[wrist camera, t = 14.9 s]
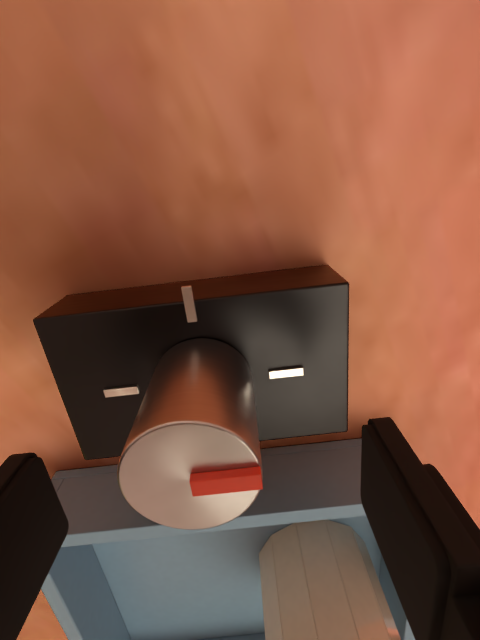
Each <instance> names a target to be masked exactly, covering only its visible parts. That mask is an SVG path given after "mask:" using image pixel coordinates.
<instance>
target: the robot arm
mask: <svg viewBox="0 0 480 640" xmlns="http://www.w3.org/2000/svg"><path fill="white" fill-rule="evenodd" d="M360 495H361V502H362V506H363V509H364V511H365V514H366V516H367V519H368V521H369V524H370V526H371V529H372V532H373V534H374V537H375V539H376V542H377V544H378V547H379V549H380V552H381V554H382V557H383V559H384V562H385V564H386V567H387V570H388V572H389V575H390V577H391V580H392V582H393V585H394V587H395V590H396V592H397V595H398V597H399V600H400V602H401V605H402V608H403V610H404V613H405V615H406V618H407V620H408V623H409V625H410V628H411V630H412V633H413V635H414V638H415V640H480V529H479V528H478V527H477V525H476V524H475V522H474V521H473V520H472V518H471V517H470V515H469V514H468V512H467V511H466V510H465V508H464V507H463V505H462V504H461V503H460V501H459V500H458V498H457V497H456V496H455V494H454V493H453V491H452V490H451V488H450V487H449V486H448V484H447V483H446V481H445V480H444V479H443V477H442V476H441V474H440V473H439V472H438V470H437V469H436V468H435V467H434V466H433V465H431V464H423V465H422V463H421V462H420V460H419V459H418V457H417V456H416V454H415V453H414V451H413V450H412V448H411V447H410V445H409V444H408V442H407V441H406V439H405V438H404V436H403V435H402V433H401V432H400V430H399V429H398V427H397V426H396V424H395V423H394V421H393V420H392V419H391V418H390V417H386V418H376V419H369V420H368V425H363V426H362V445H361V489H360ZM68 528H69V523H68V519H67V517H66V515H65V512H64V510H63V507H62V505H61V503H60V500H59V498H58V496H57V493H56V491H55V489H54V486H53V484H52V481H51V479H50V477H49V474H48V472H47V470H46V467H45V465H44V462H43V460H42V459H41V458H40V457H37V455H36V454H35V453H23V454H13V455H11V456H9V457H8V458H7V459H6V460H5V461H4V463H3V464H2V465H1V466H0V640H16V639H17V637H18V635H19V633H20V631H21V629H22V627H23V625H24V623H25V620H26V618H27V616H28V614H29V612H30V610H31V608H32V606H33V604H34V602H35V600H36V598H37V596H38V594H39V592H40V589H41V587H42V585H43V583H44V581H45V579H46V577H47V575H48V573H49V571H50V569H51V567H52V565H53V563H54V561H55V558H56V556H57V554H58V552H59V550H60V548H61V546H62V544H63V542H64V540H65V538H66V536H67V533H68Z"/></svg>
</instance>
